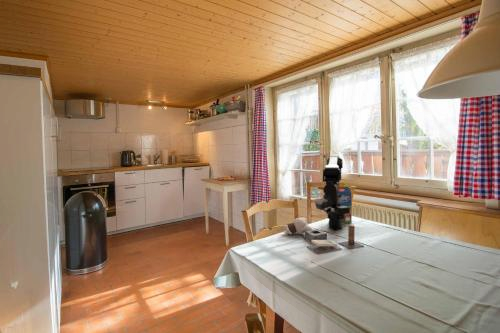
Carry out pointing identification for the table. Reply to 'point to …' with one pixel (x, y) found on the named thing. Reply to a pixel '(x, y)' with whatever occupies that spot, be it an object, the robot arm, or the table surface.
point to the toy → (297, 226)
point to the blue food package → (345, 201)
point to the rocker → (323, 243)
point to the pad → (356, 245)
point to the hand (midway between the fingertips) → (332, 224)
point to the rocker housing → (323, 248)
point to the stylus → (351, 234)
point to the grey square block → (315, 235)
